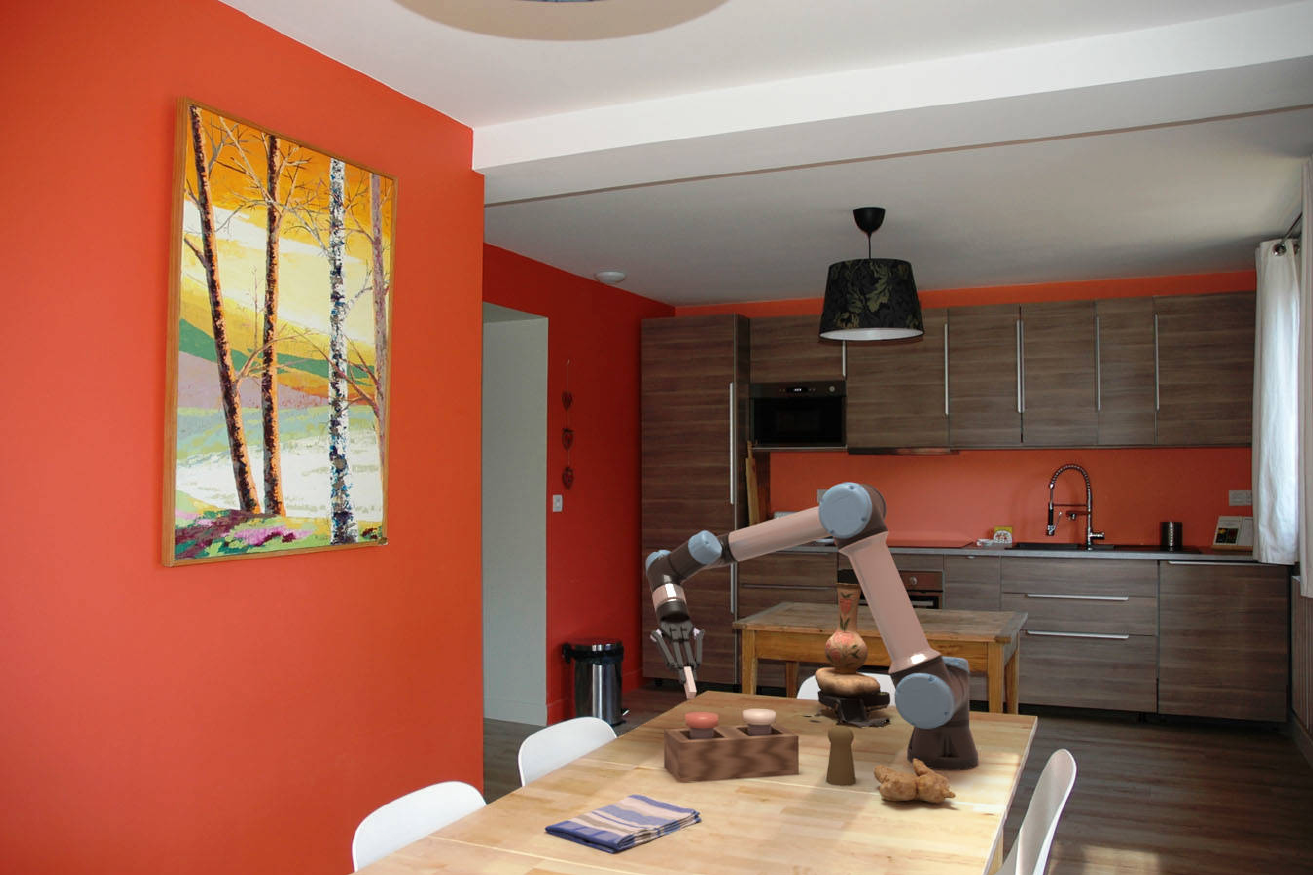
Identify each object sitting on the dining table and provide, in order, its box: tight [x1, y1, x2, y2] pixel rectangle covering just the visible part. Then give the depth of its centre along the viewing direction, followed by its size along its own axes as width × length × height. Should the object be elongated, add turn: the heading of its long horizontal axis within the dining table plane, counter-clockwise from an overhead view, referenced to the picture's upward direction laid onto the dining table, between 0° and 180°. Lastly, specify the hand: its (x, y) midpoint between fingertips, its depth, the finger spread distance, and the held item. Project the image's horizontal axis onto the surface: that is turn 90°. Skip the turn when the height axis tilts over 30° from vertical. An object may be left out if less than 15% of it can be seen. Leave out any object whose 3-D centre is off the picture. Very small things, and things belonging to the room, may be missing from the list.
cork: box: [825, 725, 857, 787], centre depth 210 cm, size 6×6×11 cm
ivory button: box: [742, 708, 777, 736], centre depth 219 cm, size 7×7×7 cm
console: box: [663, 722, 800, 783], centre depth 217 cm, size 26×12×8 cm, turn 105°
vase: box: [801, 582, 891, 729], centre depth 272 cm, size 24×22×35 cm
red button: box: [684, 711, 719, 740], centre depth 216 cm, size 7×7×7 cm
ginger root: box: [873, 759, 956, 805], centre depth 198 cm, size 16×16×8 cm
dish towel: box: [544, 793, 703, 855], centre depth 181 cm, size 17×24×3 cm
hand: (691, 695), depth 221 cm, fingers closed
